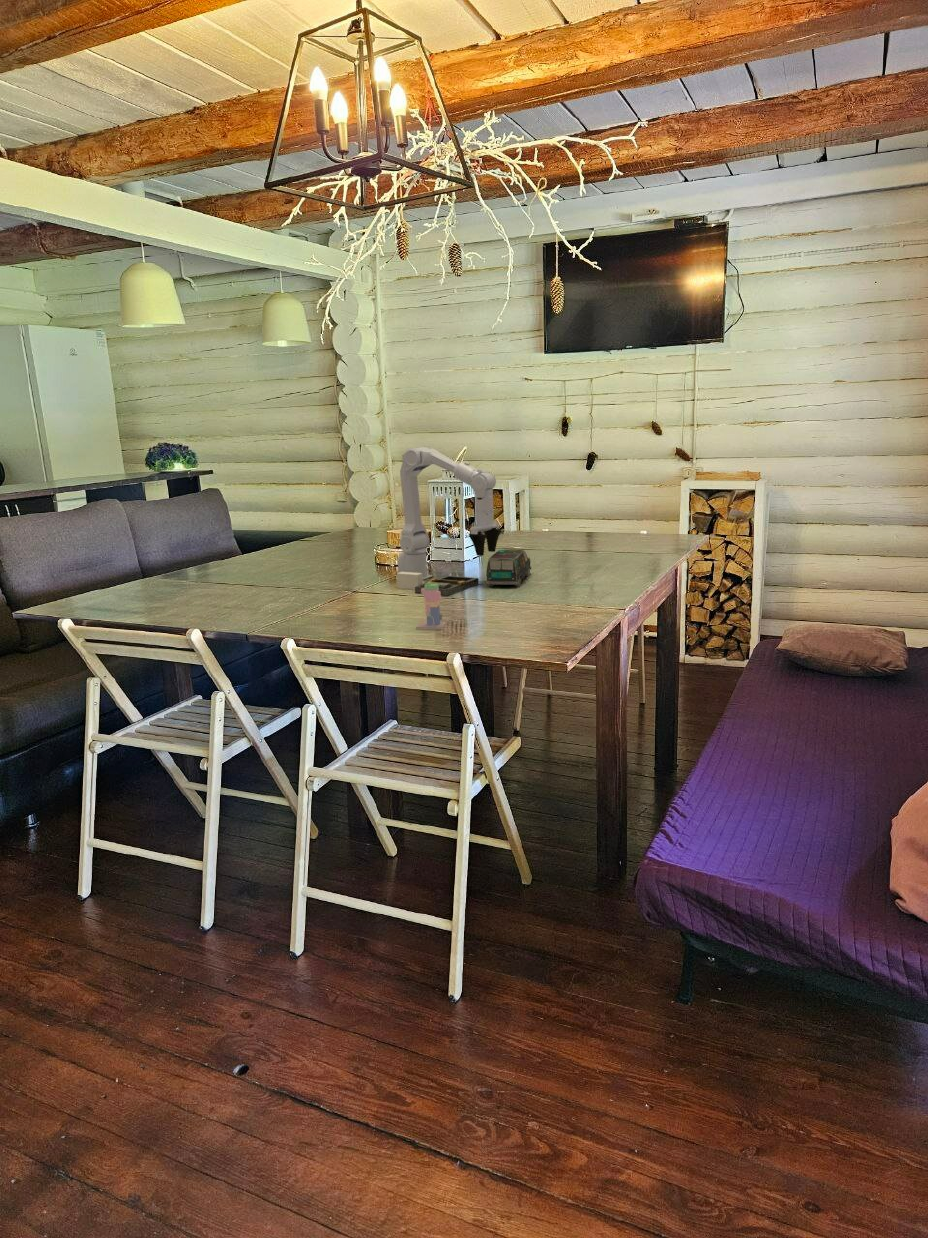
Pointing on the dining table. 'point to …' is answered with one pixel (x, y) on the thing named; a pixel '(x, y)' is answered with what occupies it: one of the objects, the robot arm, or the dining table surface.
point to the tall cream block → (409, 580)
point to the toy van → (507, 567)
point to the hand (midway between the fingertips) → (485, 553)
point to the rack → (450, 584)
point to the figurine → (432, 608)
